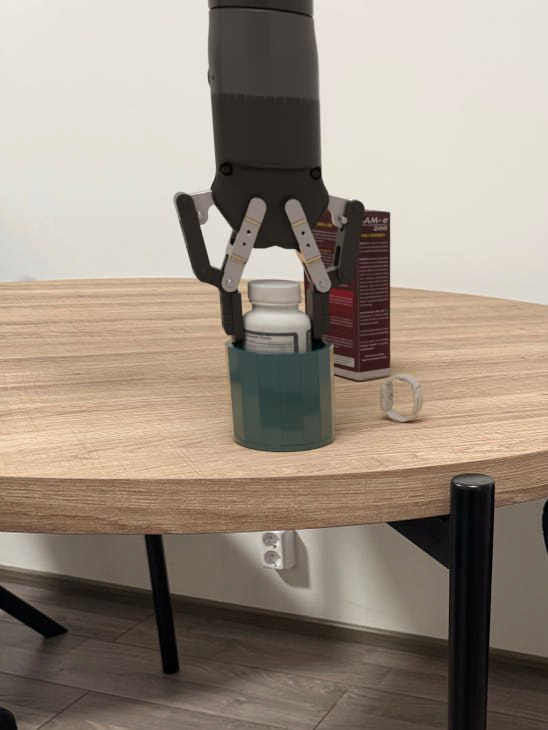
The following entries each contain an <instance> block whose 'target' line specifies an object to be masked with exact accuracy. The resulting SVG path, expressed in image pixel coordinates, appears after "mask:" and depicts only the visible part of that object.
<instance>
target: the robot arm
mask: <svg viewBox="0 0 548 730" xmlns="http://www.w3.org/2000/svg"><path fill="white" fill-rule="evenodd" d="M207 6H208V31H207V32H208V33H207V62H208V63H207V64H208V65H207V66H208V69H207V83H208V85H209V88H210V89H209V90H210V105H211V120H212V133H213V149H214V161H215V162H214V163H215V175H214V178H213V181H212V183H211V185H210V188H209V189H206V190H201V191H195V192H188V193H186V192H184V191H178V192H176V193H175V194H174V196H173V199H172V200H173V205H174V207H175V211H176V216H177V219H178V222H179V223H178V224H179V228H180V231H181V234H182V237H183V241H184V246H185V248H186V252H187V255H188V259H189V264H190V266H191V271H192V274H193V275H194V277H196V279H197V280H198V281H199V282H200V283H205V284H208V285H211V286H213V287H215V288H217V290H218V295H219V307H220V320H221V321H220V323H221V327H222V329H223V331H224V333H225V334H226V336H229V337H231V338H232V341H233V342H234V343H244V330H243V315H244V313H243V299H242V293H241V292H240V291H239V288H238V287H239V286H240V282H241V279H242V277H243V273H244V270H245V267H246V265H247V263H248V262H249V260H250V257H251V253H252V251H253V249H254V250H255V249H256V250H257V249H260V250H265V249H270V248H273V247H278V248H281V249H284V250H294V251H295V253H296V256H297V258H298V260H299V262H300V264H301V266H302V269H303V268H304V269H303V271H304V270H305V273H306V275H307V278H308V280H309V282H310V290H307V316H308V317H309V319H310V321H311V341H312V342H322V335H327V334H328V332H329V329H330V315H329V314H330V312H329V294H330V291H331V290H332V289H333V288H334V287H336V286H338V285H341V284H348V283H350V282H351V281H352V280H353V277H354V272H355V266H356V260H357V254H358V248H359V242H360V236H361V230H362V224H363V218H364V212H365V209H366V208H365V205H364V203H363V202H362V201H360V200H358V199H356V198H352V197H351V198H350V197H349V198H343V197H339V196H335V195H332V194H329V191H328V189H327V187H326V185H325V182H324V179H323V167H322V166H323V165H322V164H323V163H322V161H323V160H322V125H321V124H322V123H321V122H322V121H321V86H320V85H321V83H320V82H321V80H320V79H321V77H320V56H319V48H318V46H319V45H318V40H317V33H316V24H315V0H207ZM212 206H214V207H215V208H216V209H217V210H218V212H219V213H220V214H221V216H222V217H223V219H224V220H225V222H226V223H227V224H228V225H229V227H230V228H231V232H230V235H229V238H228V241H227V244H226V246H225V252H224V257H223V258H222V263H221V265H220V268H219V267H217V266H215V265H212V264H211V262H210V258H209V254H208V250H207V246H206V243H205V239H204V235H203V230H202V227H201V226H202V225H205V224H207V222H208V220H209V209H210V208H211V207H212ZM327 208H328V209H329V210H330V212H331V215H332V222H333V224H334V225H335V226H336V227H338V232H337V238H336V244H335V251H334V257H333V263H332V267H329V268H326V269H325V267H324V264H323V262H322V259H321V254H320V252H319V249H318V247H317V244H316V242H315V240H314V237H313V235H312V231H313V229H314V228H315V226H316V225H317V223H318V222H319V220H320V218H321V217H322V215H323V214H324V212H325V211H326V209H327ZM231 338H230V339H231Z"/></svg>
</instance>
